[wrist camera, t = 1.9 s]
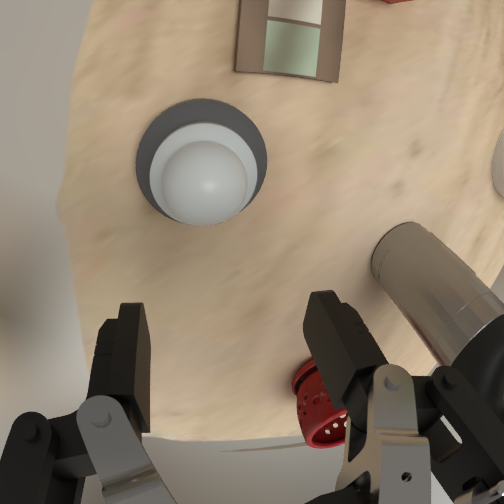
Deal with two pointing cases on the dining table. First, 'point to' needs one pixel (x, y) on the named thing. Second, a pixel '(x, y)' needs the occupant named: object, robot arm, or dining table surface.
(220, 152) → the pop dome
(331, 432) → the plant pot
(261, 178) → the dome base
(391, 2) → the red die
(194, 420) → the dining table surface
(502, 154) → the honey pot
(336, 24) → the game board
